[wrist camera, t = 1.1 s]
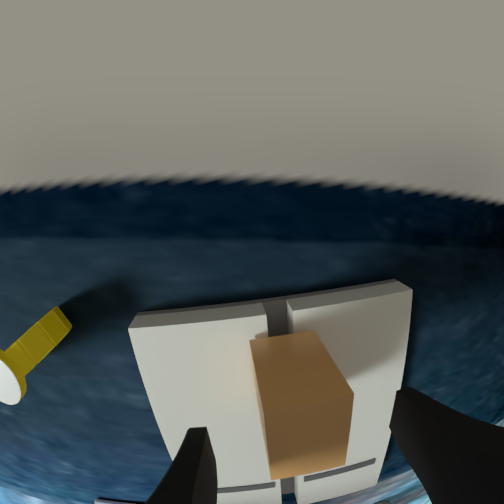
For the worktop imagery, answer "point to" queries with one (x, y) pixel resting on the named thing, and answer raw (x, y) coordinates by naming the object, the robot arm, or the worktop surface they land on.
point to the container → (383, 502)
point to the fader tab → (300, 404)
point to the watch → (29, 353)
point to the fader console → (243, 389)
